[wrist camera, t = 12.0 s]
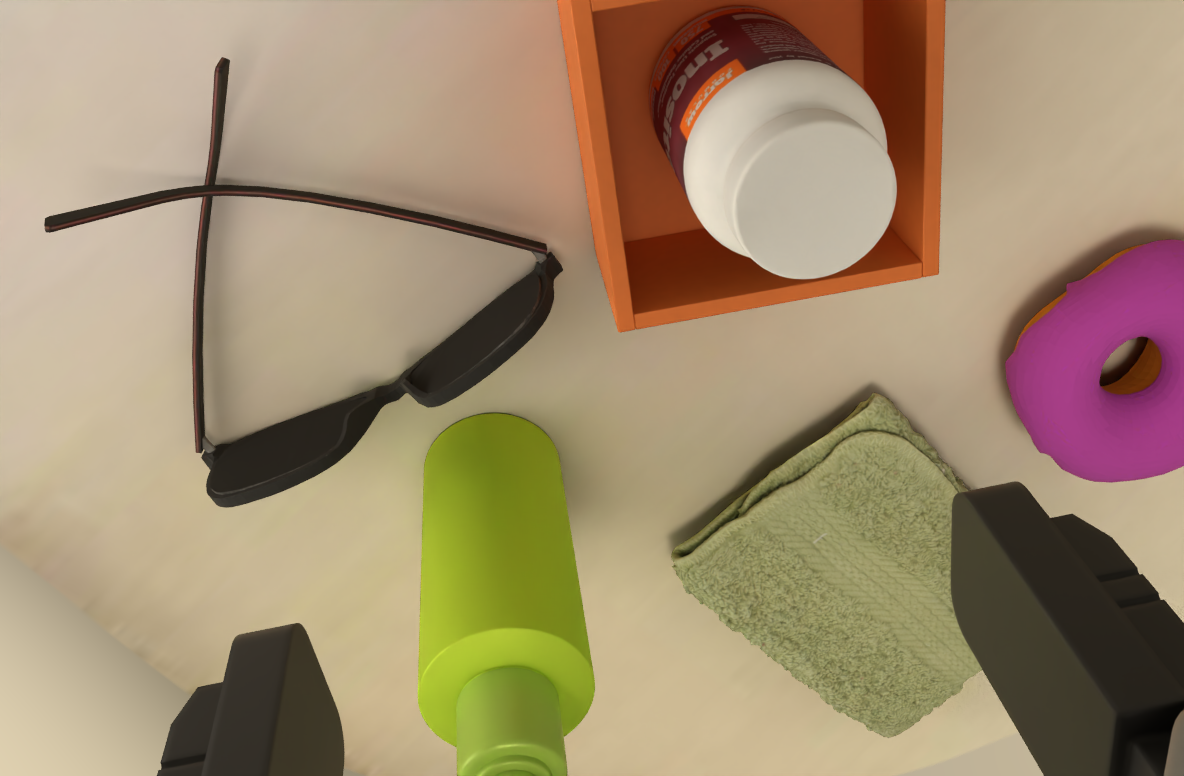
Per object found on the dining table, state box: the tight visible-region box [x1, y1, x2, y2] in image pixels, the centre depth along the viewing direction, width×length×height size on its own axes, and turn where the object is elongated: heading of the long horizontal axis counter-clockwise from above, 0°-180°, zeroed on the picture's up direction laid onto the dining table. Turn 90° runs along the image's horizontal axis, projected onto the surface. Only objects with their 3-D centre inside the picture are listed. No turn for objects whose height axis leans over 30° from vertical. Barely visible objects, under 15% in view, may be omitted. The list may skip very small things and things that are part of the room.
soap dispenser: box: [418, 413, 595, 776], centre depth 39 cm, size 6×7×20 cm
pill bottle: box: [649, 6, 897, 279], centre depth 35 cm, size 6×6×11 cm
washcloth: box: [671, 392, 982, 738], centre depth 52 cm, size 13×18×3 cm
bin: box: [557, 0, 946, 332], centre depth 38 cm, size 11×11×7 cm
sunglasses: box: [44, 57, 563, 507], centre depth 39 cm, size 17×14×5 cm
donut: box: [1005, 239, 1184, 482], centre depth 46 cm, size 10×10×5 cm
